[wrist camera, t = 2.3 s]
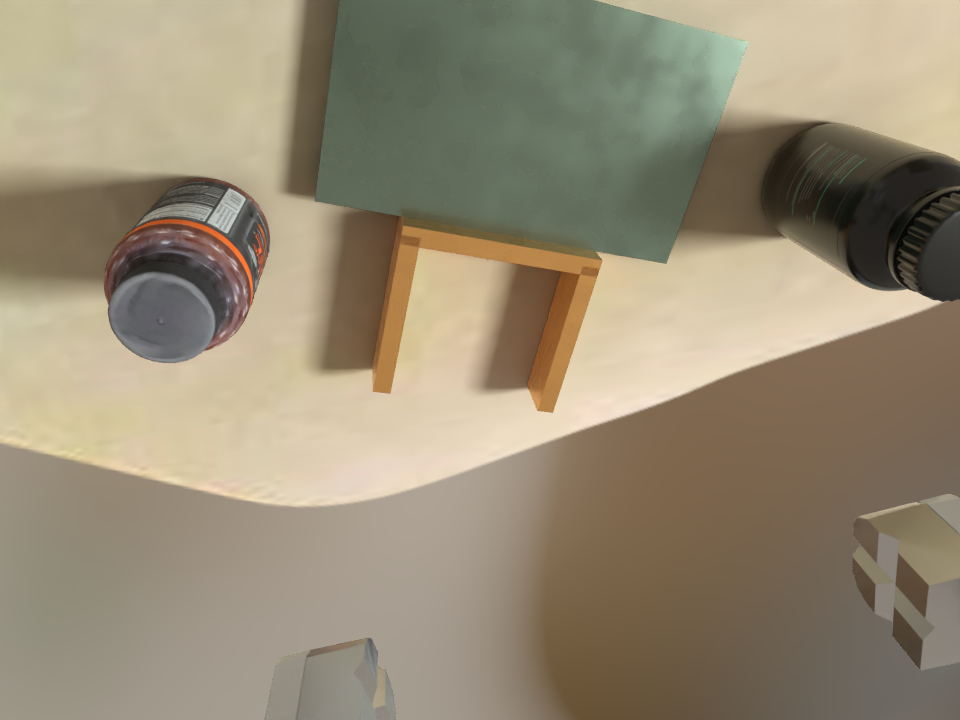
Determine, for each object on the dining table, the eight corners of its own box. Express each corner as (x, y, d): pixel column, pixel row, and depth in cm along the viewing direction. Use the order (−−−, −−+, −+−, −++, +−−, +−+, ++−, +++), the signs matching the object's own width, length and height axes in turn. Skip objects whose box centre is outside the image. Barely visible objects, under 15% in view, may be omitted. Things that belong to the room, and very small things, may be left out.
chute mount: (296, 356, 41) (292, 382, 39) (347, -65, 31) (346, -69, 29) (605, 395, 46) (620, 420, 43) (734, 39, 36) (763, 44, 33)
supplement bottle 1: (269, 288, 39) (238, 394, 29) (156, 274, 38) (83, 381, 28) (275, 183, 36) (243, 261, 26) (153, 165, 35) (71, 240, 25)
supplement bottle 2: (891, 166, 41) (1071, 231, 30) (806, 257, 43) (947, 347, 33) (822, 95, 38) (992, 141, 28) (735, 196, 40) (863, 274, 30)
